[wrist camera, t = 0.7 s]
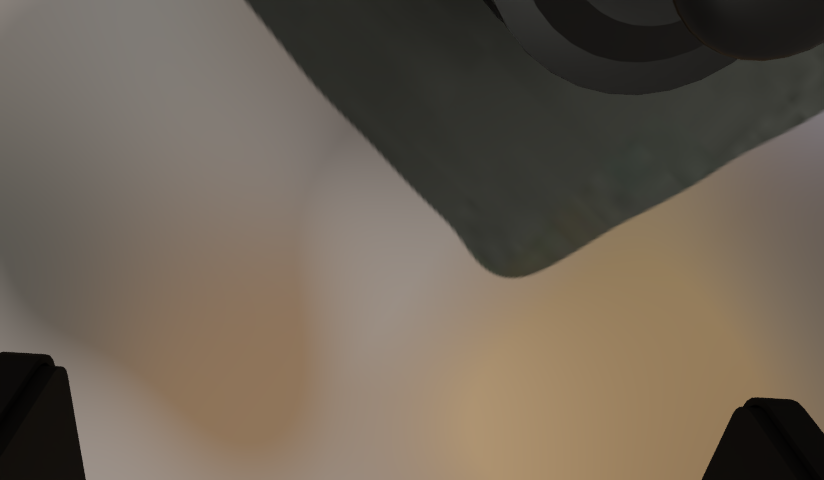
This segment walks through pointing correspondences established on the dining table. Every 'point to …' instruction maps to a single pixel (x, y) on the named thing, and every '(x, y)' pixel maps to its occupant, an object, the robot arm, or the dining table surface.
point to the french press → (657, 37)
